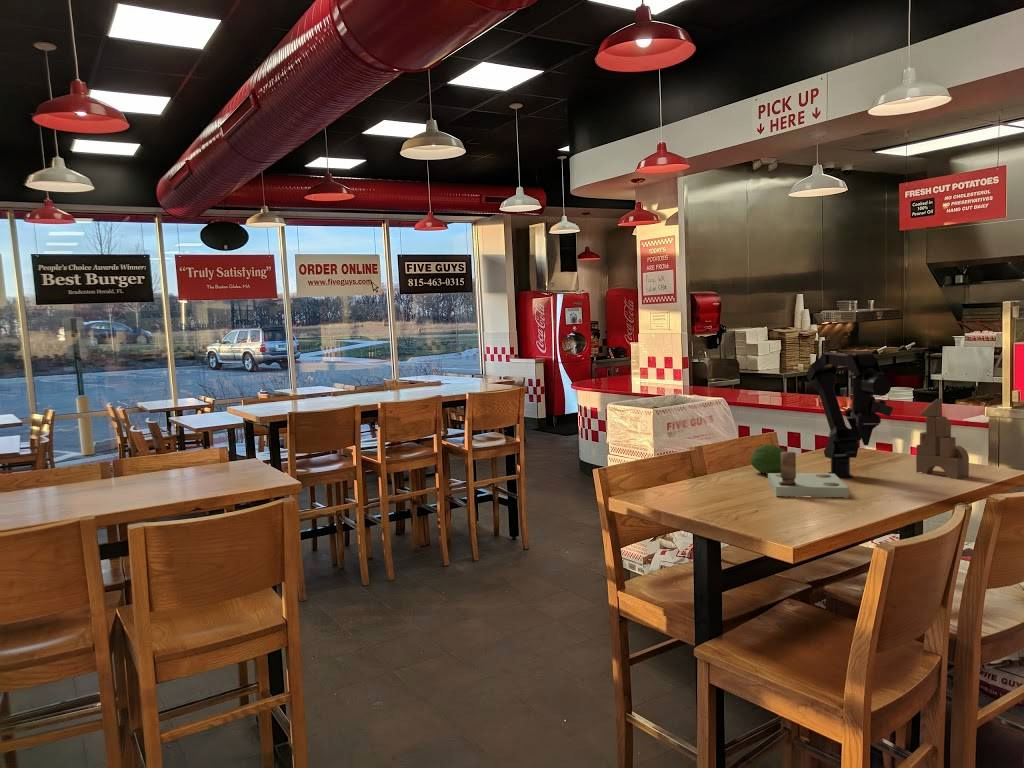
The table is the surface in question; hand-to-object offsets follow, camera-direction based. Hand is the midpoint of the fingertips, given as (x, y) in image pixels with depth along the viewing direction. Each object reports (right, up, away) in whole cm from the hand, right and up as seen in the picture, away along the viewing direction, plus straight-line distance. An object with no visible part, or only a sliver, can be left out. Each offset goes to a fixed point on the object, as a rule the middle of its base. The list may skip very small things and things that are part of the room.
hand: (862, 442), depth 226 cm
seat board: (-19, -14, -4) cm, 24 cm away
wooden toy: (+30, -11, +10) cm, 34 cm away
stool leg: (-26, -15, -8) cm, 31 cm away
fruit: (-21, -13, +20) cm, 32 cm away
